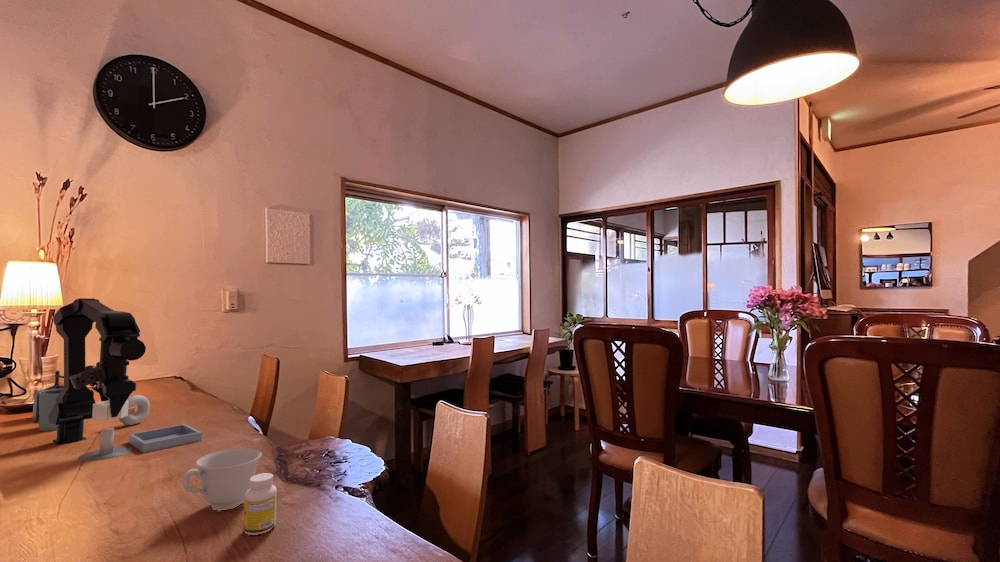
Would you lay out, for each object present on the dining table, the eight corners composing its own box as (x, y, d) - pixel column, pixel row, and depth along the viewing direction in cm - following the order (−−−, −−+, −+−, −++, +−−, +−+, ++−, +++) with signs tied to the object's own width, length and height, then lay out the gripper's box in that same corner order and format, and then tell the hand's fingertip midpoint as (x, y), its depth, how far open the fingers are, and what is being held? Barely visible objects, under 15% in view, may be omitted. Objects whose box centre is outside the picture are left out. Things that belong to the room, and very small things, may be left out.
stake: (73, 456, 118) (75, 430, 119) (125, 446, 127) (126, 422, 128) (83, 466, 112) (85, 438, 112) (137, 454, 121) (138, 429, 121)
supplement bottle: (251, 522, 85) (254, 471, 86) (280, 521, 86) (282, 471, 86) (237, 537, 80) (240, 482, 81) (268, 536, 80) (270, 482, 81)
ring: (90, 417, 120) (91, 402, 120) (130, 411, 127) (130, 397, 127) (96, 421, 116) (97, 406, 116) (137, 415, 122) (138, 401, 123)
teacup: (164, 516, 87) (167, 465, 88) (238, 488, 100) (240, 444, 101) (198, 532, 82) (200, 477, 82) (272, 500, 95) (273, 453, 95)
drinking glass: (46, 424, 147) (48, 388, 148) (85, 421, 152) (87, 386, 152) (29, 433, 138) (31, 394, 139) (71, 429, 142) (73, 392, 143)
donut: (122, 429, 144) (123, 398, 144) (113, 428, 144) (115, 397, 145) (152, 421, 153) (153, 392, 154) (144, 420, 154) (145, 391, 154)
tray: (128, 444, 129) (129, 434, 129) (184, 433, 140) (184, 423, 140) (143, 454, 121) (144, 443, 121) (201, 442, 132) (201, 432, 132)
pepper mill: (35, 423, 149) (38, 370, 149) (31, 417, 155) (34, 366, 156) (96, 414, 161) (99, 365, 162) (90, 409, 168) (93, 362, 168)
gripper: (66, 357, 120) (62, 414, 120) (82, 364, 109) (78, 427, 108) (118, 354, 129) (115, 407, 128) (138, 359, 118) (134, 418, 117)
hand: (110, 414), depth 120 cm, fingers closed on ring, 7 cm apart
